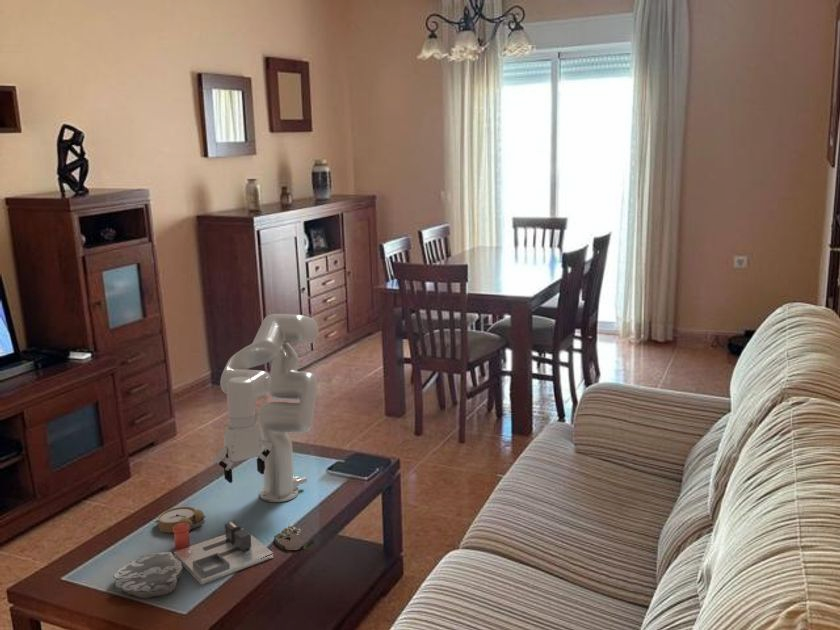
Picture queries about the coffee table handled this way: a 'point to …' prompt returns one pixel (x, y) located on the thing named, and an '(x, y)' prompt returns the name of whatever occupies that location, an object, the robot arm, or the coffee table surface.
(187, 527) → the cap
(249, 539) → the breaker
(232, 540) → the block
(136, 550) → the coffee table surface
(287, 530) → the grey rough lump
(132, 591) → the brain slice
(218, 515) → the coffee table surface
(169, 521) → the alarm clock
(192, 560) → the panel
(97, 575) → the coffee table surface
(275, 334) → the robot arm
